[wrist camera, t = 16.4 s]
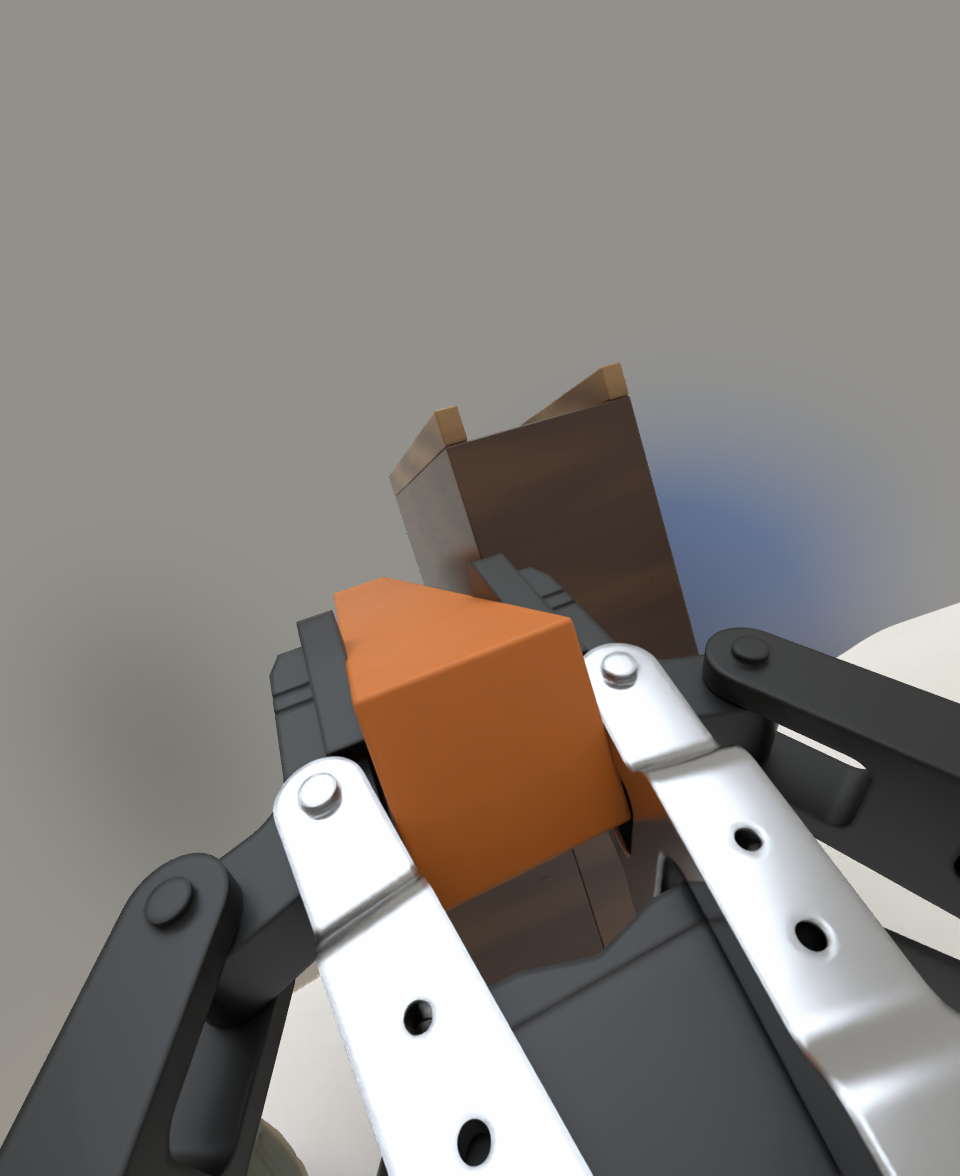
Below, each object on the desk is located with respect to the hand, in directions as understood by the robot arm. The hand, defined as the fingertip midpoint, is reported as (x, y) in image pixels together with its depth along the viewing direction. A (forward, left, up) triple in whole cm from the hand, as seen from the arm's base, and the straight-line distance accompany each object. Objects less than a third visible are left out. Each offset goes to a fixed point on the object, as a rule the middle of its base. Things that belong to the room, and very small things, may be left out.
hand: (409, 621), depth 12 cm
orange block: (-5, +5, -3) cm, 8 cm away
